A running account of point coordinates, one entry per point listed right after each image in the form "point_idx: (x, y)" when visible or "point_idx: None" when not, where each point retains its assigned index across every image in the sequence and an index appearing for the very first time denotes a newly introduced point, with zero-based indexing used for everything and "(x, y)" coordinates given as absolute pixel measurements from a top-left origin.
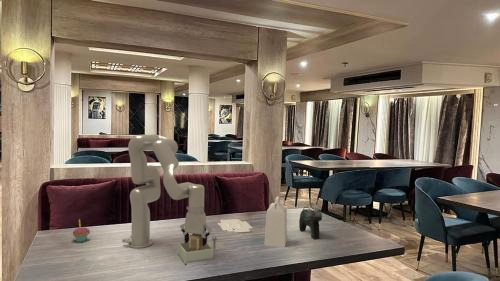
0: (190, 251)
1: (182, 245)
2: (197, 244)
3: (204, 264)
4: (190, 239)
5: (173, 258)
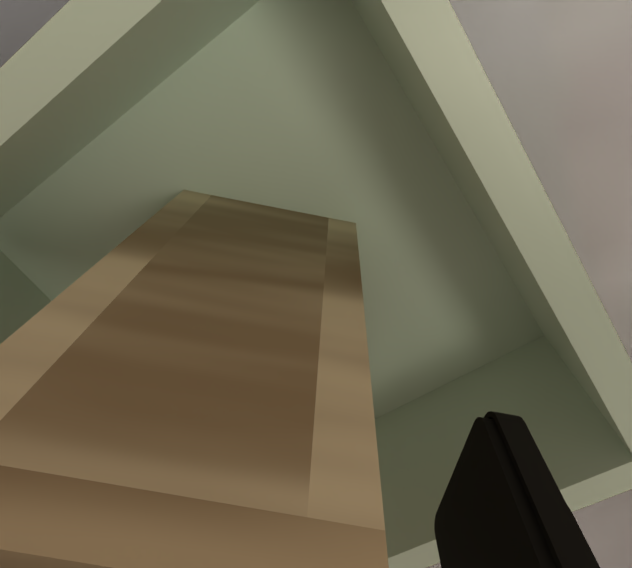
0: (326, 257)
1: (555, 443)
2: (75, 310)
3: (19, 47)
4: (325, 450)
5: (619, 184)
